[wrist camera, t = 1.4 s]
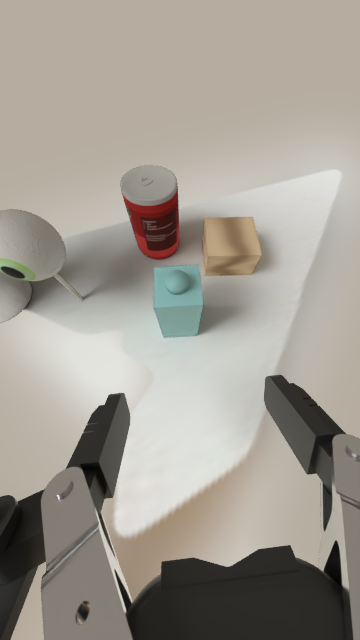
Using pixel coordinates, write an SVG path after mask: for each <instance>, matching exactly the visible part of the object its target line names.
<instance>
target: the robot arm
mask: <svg viewBox="0 0 360 640" xmlns="http://www.w3.org/2000/svg"><path fill="white" fill-rule="evenodd" d="M31 294H32V287H31V284H30V282H29V281H24V280H20V279H16V278H13V277H11V276H8V275H6V274H5V273H3V272H1V271H0V323H1V322H5V321H7V320H10V319H11V318H13V317H15V316H16V315H18V314H19V313H20V312H21V311H22V310H23V309H24V308H25V307H26V305H27V304H28V302H29V300H30V298H31ZM264 401H265V405H266V408H267V410H268V411H269V413H270V415H271V416H272V418H273V419H274V421H275V423H276V424H277V426H278V427H279V429H280V431H281V433H282V434H283V436H284V437H285V439H286V441H287V442H288V444H289V446H290V447H291V449H292V450H293V452H294V454H295V456H296V457H297V459H298V460H299V462H300V464H301V465H302V467H303V468H304V470H305V472H306V473H307V474H315V473H317V474H318V476H319V477H320V479H321V484H320V490H321V542H320V549H319V563H318V568H317V567H315V566H314V565H312V564H310V563H308V562H306V561H303V560H301V559H299V558H295V556H294V553H293V551H292V548H291V546H290V545H288V546H280V547H273V548H265V549H258V550H257V551H255V552H254V553H252V554H250V555H249V556H247V557H246V558H244V559H242V560H241V561H239V562H237V563H236V564H234V565H233V566H230V567H225V566H221V565H217V564H214V563H210V562H207V561H203V560H199V559H196V558H188V559H180V560H172V561H164V562H162V566H161V574H160V575H158V576H157V577H155V578H154V579H153V580H152V581H150V582H149V583H148V584H147V585H146V586H145V587H144V588H143V590H142V591H141V592H140V593H139V594H138V596H137V597H136V599H135V600H134V601H132V598H131V596H130V592H129V589H128V587H127V584H126V581H125V578H124V576H123V573H122V571H121V568H120V566H119V563H118V560H117V557H116V554H115V551H114V548H113V545H112V543H111V539H110V536H109V533H108V530H107V527H106V524H105V521H104V518H103V515H102V512H101V509H102V505H103V502H104V499H106V498H113V495H114V491H115V487H116V482H117V478H118V474H119V469H120V465H121V460H122V456H123V452H124V447H125V443H126V439H127V434H128V430H129V426H130V413H129V409H128V405H127V401H126V398H125V394H124V393H118V394H110V395H109V396H108V398H107V400H106V403H105V405H101V406H99V407H98V408H97V409H96V410H95V411H94V412H93V413H92V415H91V417H90V419H89V421H88V425H87V426H86V428H85V430H84V433H83V434H82V436H81V438H80V440H79V442H78V445H77V447H76V449H75V451H74V453H73V455H72V457H71V459H70V461H69V463H68V466H67V467H66V469H65V470H63V471H62V472H60V473H59V474H57V475H56V476H55V477H54V478H53V479H52V480H51V481H50V482H49V484H48V485H47V487H46V488H45V489H44V490H42V491H40V492H38V493H35V494H33V495H31V496H29V497H27V498H25V499H22V500H20V501H18V502H17V501H16V500H15V498H13V497H12V496H10V495H6V496H2V497H0V640H10V639H11V636H12V634H13V631H14V628H15V626H16V623H17V621H18V618H19V615H20V613H21V610H22V607H23V605H24V602H25V599H26V597H27V594H28V592H29V589H30V586H31V584H32V581H33V578H34V576H35V573H36V571H37V568H38V566H39V565H40V564H42V563H44V562H46V573H45V574H44V575H43V577H42V581H41V600H42V613H43V614H42V615H43V629H44V640H360V439H359V438H356V437H354V436H351V435H347V434H346V433H345V432H344V431H343V430H342V429H341V428H340V427H339V426H338V425H337V424H336V423H335V422H334V421H333V420H332V419H331V418H330V417H329V416H328V415H327V414H326V413H325V411H324V410H323V409H322V408H321V407H320V406H318V405H317V403H316V402H315V401H314V400H313V399H311V397H310V396H309V395H308V394H307V393H306V392H305V391H304V390H303V389H302V388H300V387H299V386H297V385H295V384H294V383H290V384H289V383H288V381H287V380H286V379H285V378H284V377H283V376H282V375H274V376H267V377H266V379H265V391H264Z"/></svg>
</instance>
